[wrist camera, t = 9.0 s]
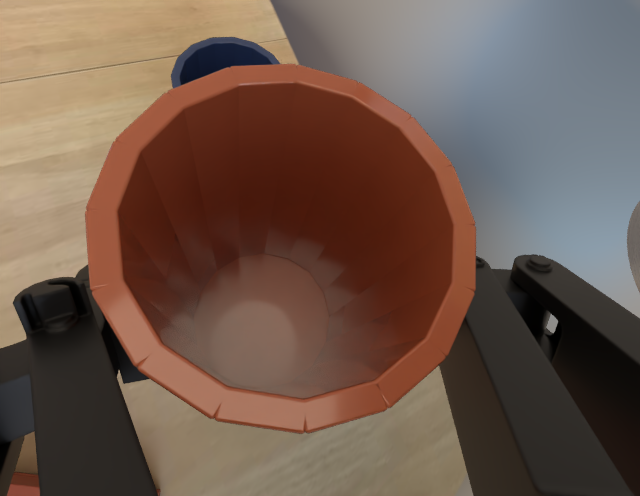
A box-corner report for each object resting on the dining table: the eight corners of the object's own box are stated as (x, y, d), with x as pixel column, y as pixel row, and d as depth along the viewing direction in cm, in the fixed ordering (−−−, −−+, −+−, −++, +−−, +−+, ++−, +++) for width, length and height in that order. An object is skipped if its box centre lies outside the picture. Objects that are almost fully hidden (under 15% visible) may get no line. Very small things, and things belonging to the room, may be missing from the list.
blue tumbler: (280, 154, 36) (297, 54, 25) (265, 220, 34) (277, 141, 23) (205, 136, 35) (189, 24, 24) (185, 203, 33) (156, 112, 22)
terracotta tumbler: (344, 264, 20) (477, 112, 9) (324, 410, 17) (476, 460, 6) (207, 235, 19) (160, 24, 8) (165, 385, 16) (7, 390, 5)
